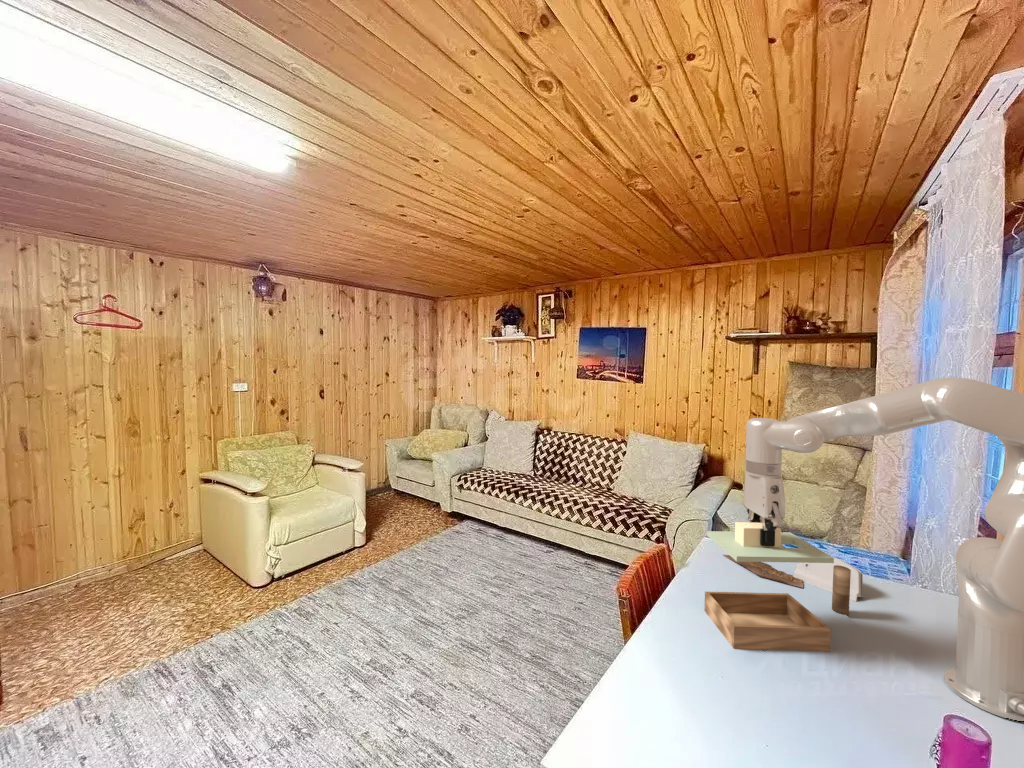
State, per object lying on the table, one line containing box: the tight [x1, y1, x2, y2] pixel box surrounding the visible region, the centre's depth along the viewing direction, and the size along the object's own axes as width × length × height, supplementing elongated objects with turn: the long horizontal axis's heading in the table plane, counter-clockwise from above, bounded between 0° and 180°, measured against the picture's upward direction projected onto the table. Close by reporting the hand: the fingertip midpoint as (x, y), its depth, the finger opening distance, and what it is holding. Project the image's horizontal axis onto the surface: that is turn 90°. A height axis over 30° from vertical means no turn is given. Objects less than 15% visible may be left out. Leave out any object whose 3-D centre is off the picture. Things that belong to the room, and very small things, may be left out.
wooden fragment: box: [722, 554, 805, 589], centre depth 134 cm, size 26×11×1 cm, turn 27°
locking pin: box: [831, 565, 851, 618], centre depth 110 cm, size 4×4×12 cm
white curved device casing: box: [792, 556, 864, 603], centre depth 124 cm, size 17×5×10 cm, turn 33°
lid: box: [706, 521, 835, 564], centre depth 101 cm, size 15×22×6 cm
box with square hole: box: [703, 591, 832, 652], centre depth 101 cm, size 15×22×6 cm
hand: (761, 540), depth 101 cm, fingers closed on lid, 4 cm apart
